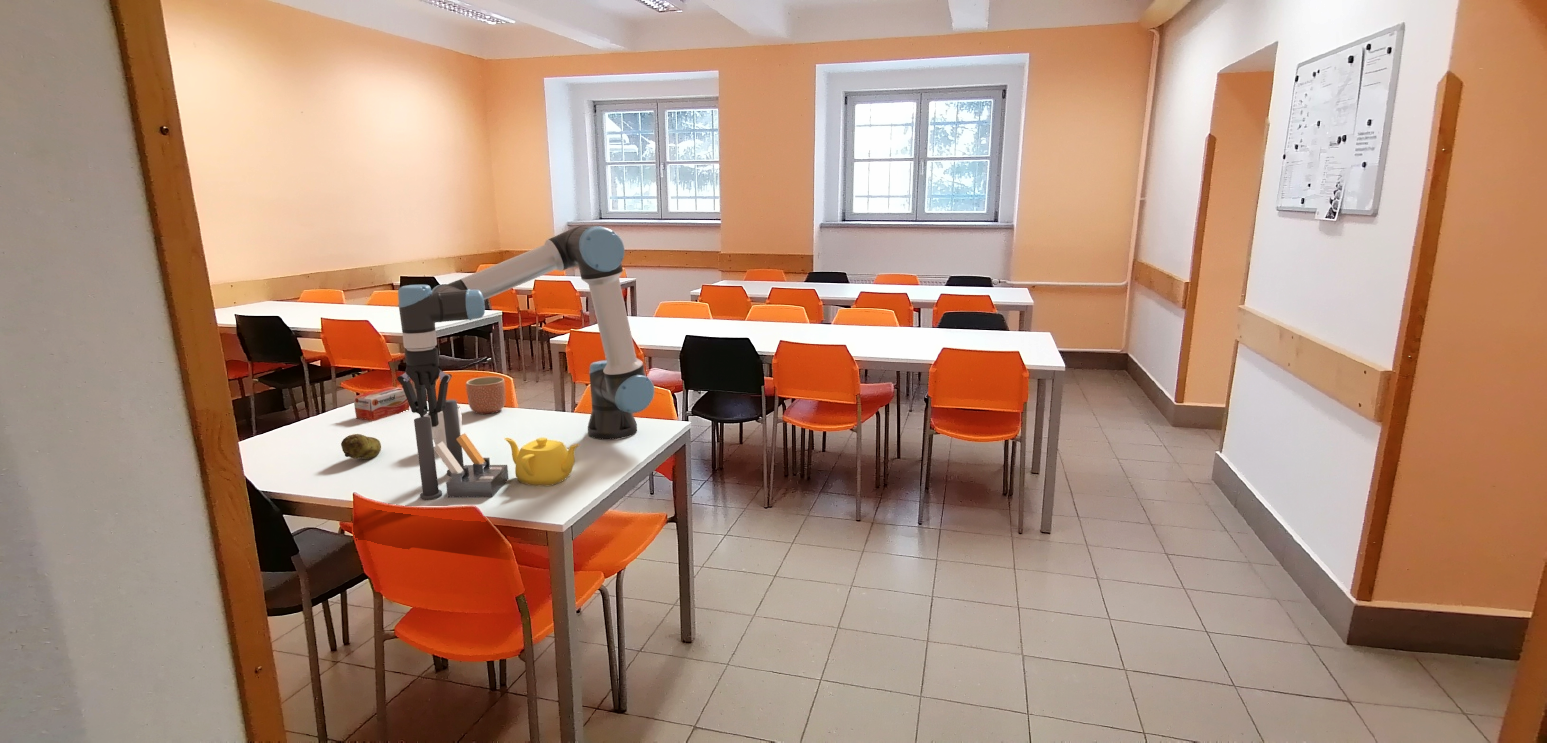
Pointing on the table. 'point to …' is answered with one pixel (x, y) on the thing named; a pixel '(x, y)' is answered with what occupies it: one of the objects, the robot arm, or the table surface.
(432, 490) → the cable post
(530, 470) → the teapot
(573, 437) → the table surface
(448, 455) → the ivory paddle
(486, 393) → the planter
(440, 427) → the cup
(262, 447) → the table surface
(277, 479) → the table surface
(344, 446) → the potato
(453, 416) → the post
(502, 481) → the breaker panel
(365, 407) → the medicine box
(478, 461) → the orange paddle
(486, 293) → the robot arm
